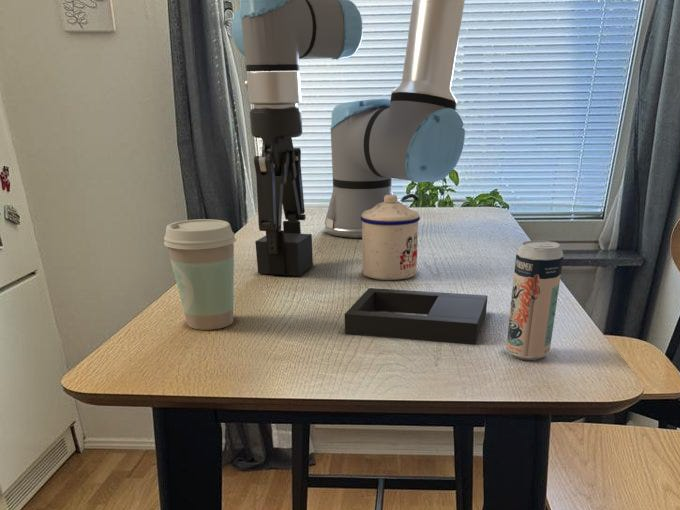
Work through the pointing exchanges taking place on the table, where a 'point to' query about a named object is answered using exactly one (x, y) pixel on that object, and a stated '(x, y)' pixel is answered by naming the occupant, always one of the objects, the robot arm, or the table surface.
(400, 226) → the teacup with lid
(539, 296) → the beer can
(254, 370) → the table surface
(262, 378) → the table surface
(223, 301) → the coffee cup
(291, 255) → the matte black cube
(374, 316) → the black rectangular tray
